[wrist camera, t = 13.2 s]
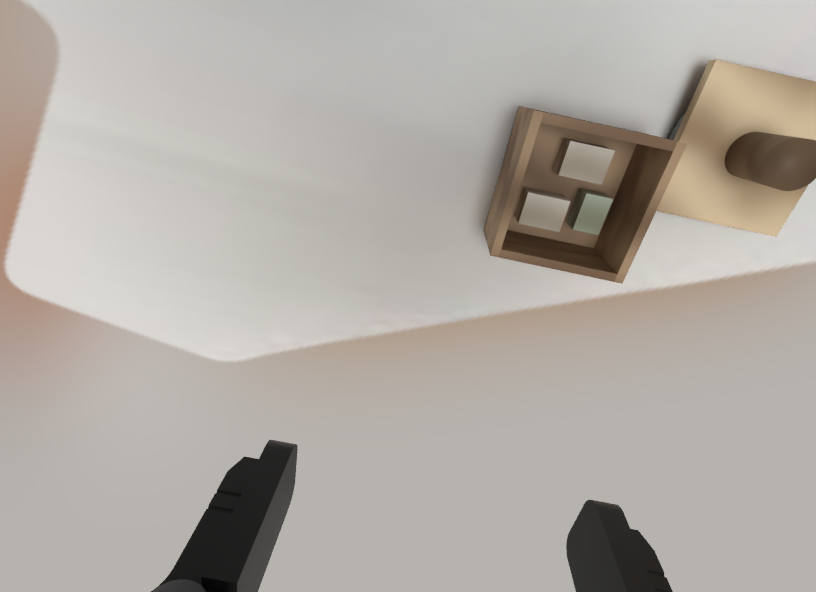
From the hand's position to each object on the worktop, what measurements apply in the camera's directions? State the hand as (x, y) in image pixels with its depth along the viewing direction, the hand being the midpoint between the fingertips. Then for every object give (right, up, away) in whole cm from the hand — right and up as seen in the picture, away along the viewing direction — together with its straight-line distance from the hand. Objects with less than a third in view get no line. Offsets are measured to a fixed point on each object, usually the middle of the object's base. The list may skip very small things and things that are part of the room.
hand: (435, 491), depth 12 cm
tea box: (+11, +14, +22) cm, 28 cm away
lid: (+23, +15, +18) cm, 33 cm away
